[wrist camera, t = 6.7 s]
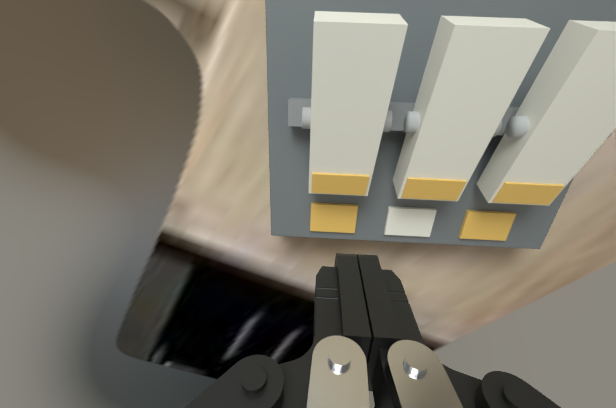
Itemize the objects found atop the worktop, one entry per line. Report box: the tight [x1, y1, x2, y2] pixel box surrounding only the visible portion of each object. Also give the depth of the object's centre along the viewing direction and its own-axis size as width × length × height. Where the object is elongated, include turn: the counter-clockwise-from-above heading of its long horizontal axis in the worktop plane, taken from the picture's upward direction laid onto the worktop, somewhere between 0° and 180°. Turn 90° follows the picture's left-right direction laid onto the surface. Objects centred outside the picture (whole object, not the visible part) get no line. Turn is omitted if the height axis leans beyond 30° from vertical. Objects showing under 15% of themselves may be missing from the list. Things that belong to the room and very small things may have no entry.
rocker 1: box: [302, 11, 408, 196], centre depth 16 cm, size 10×5×2 cm, turn 178°
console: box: [265, 0, 616, 249], centre depth 20 cm, size 18×22×5 cm
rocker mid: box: [393, 16, 551, 201], centre depth 16 cm, size 10×5×2 cm, turn 178°
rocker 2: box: [477, 20, 616, 206], centre depth 16 cm, size 10×5×2 cm, turn 178°
